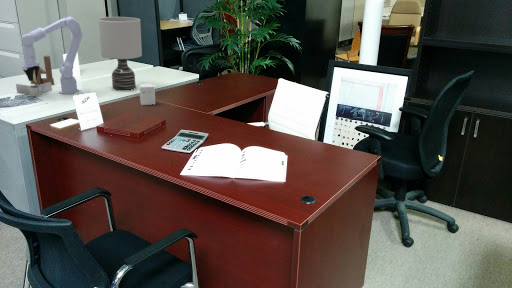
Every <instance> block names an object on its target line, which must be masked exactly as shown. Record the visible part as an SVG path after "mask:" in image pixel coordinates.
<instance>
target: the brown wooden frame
mask: <svg viewBox="0 0 512 288" xmlns="http://www.w3.org/2000/svg"><path fill="white" fill-rule="evenodd" d="M43 61H44V62H43V63H44V69H43V67H41V66H40V69H39V71H38V76H37V79H36V82H37V83H36V84H34V85H41V84H44V83H48V82H51V84H52V86H53V85H54V84H55V79H54V77H53V71H52V69H53V68H52V61H51V56H50V55H43ZM37 66H39V65H37ZM42 75H45V78H44V77H43V78H42Z"/></svg>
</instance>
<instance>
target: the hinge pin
mask: <svg viewBox="0 0 512 288" xmlns="http://www.w3.org/2000/svg"><path fill="white" fill-rule="evenodd" d="M35 71H36V70H34V72H33V81H30V84H31V85H35V84H36V83H37V82H36V76H35Z"/></svg>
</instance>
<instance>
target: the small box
mask: <svg viewBox="0 0 512 288" xmlns="http://www.w3.org/2000/svg"><path fill="white" fill-rule="evenodd" d="M139 98H140V99H139V100H140V105H141V106H149V105H151V106H152V104H153V105H156V87H155V85H154V83H152V84H151V83H149V84H139Z"/></svg>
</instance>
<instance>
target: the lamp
mask: <svg viewBox="0 0 512 288" xmlns="http://www.w3.org/2000/svg"><path fill="white" fill-rule="evenodd" d="M97 21H98V29H99V30H98V33H99V42H100V43H99V44H100V55H101V57H102V58H105V59H112V60H117V66H116V68H114V69H113V71H112V72H111V83H112V84H111V85H112V89H113V90H114V89H115V90H114V91H118V90H129V91H132V90H131V89H133V90H135V89H136V86H137V84H136V75H135V74H136V73H135V71H134V70H133V69H132V68H130V66H129V63H128V60H130V59H137V58H140V57H142V56H143V50H142V49H143V48H142V47H143V46H142V30H141V27H142V25H141V19H140V18H137V17H131V16H130V17H129V16H128V17H127V16H105V17H98V20H97ZM134 88H135V89H134Z"/></svg>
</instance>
